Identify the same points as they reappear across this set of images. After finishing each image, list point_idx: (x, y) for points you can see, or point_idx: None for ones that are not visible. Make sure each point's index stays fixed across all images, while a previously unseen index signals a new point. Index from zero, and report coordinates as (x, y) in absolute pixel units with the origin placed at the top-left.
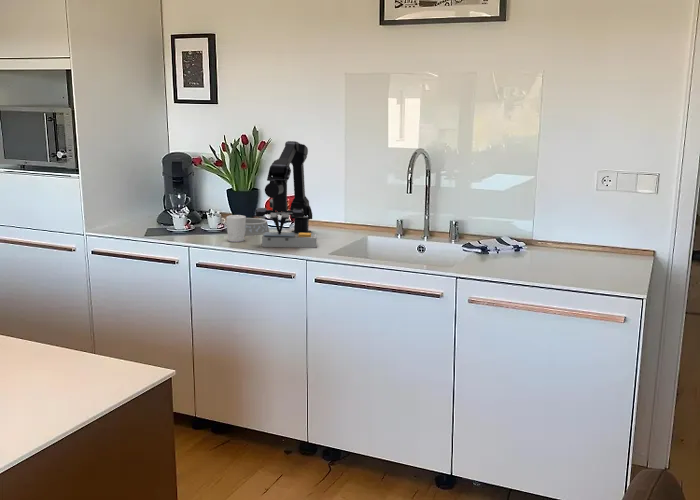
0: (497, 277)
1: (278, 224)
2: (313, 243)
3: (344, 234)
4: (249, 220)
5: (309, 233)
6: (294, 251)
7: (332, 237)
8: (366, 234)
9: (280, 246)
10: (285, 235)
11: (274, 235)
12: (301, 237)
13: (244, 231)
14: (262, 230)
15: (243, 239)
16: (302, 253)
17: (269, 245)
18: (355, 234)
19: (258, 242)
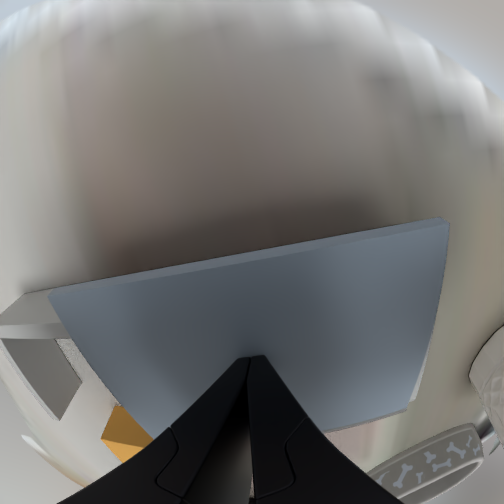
0: None
1: (255, 461)
2: (18, 305)
3: None
4: (414, 501)
5: (124, 458)
6: (80, 124)
7: (104, 461)
8: (62, 466)
9: None
10: (133, 278)
11: (300, 246)
12: (45, 328)
13: (497, 391)
14: (382, 478)
15: (481, 359)
16: (30, 91)
17: None
18: (81, 472)
19: None
